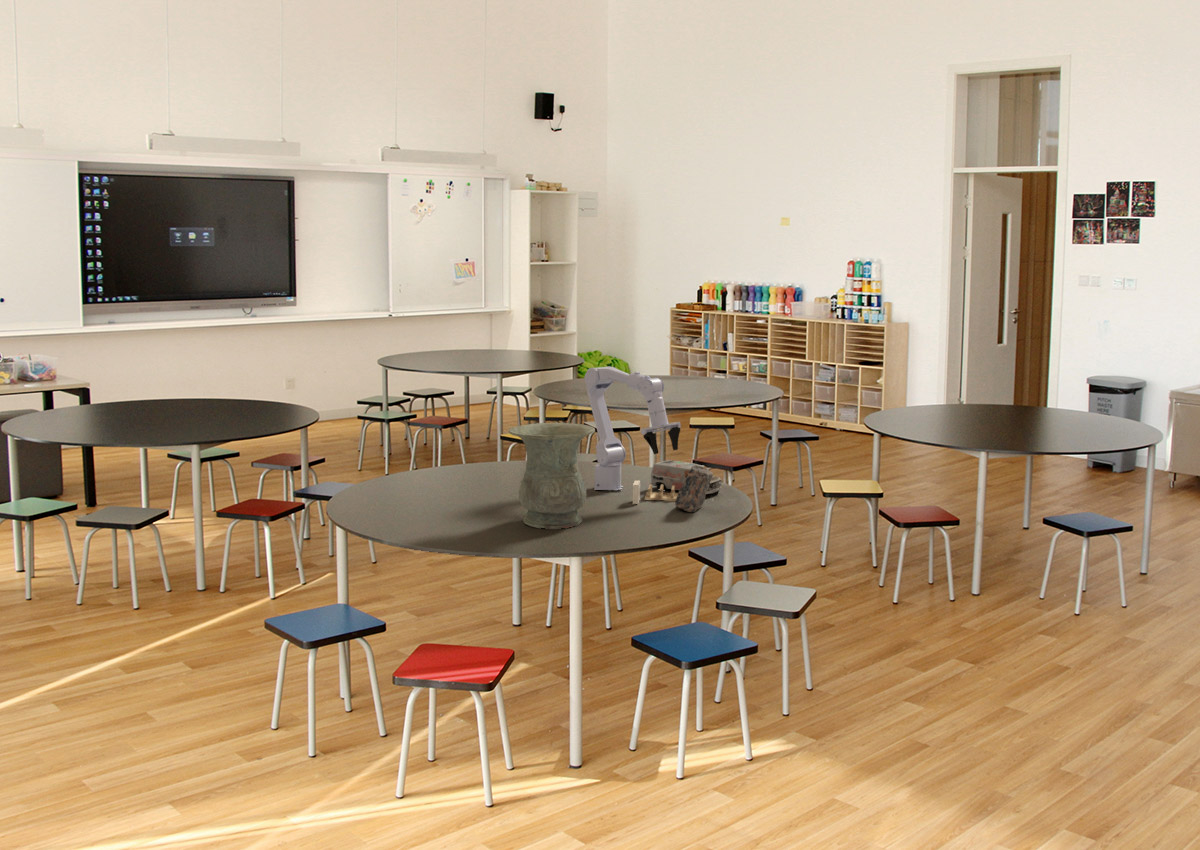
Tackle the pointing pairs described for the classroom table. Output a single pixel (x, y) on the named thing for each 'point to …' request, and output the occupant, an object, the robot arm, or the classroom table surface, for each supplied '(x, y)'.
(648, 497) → the rack
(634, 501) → the tall cream block
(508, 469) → the classroom table surface
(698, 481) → the stone
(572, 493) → the vessel
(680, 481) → the toy car
